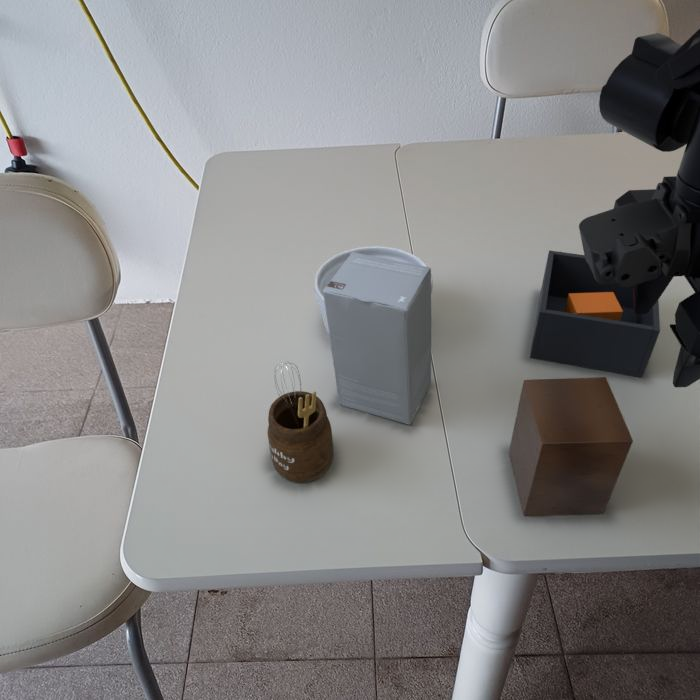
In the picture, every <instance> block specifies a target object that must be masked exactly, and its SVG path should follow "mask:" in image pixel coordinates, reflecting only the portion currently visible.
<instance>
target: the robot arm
mask: <svg viewBox="0 0 700 700" xmlns="http://www.w3.org/2000/svg"><path fill="white" fill-rule="evenodd" d="M598 101H599V102H598V108H599V113H600V115H601V117H602V119H603V120H604V121H605V122H606V123H607V124H609V125H611V126H613V127H614V128H617V129H619V130H621V131H622V132H624V133H626V134H628V135H629V136H632V137H634V138H635V139H638V140H639V141H641V142H643V143H645V144H647V145H648V146H650V147H652V148H654V149H656V150H658V151H661V152H663V153H665V152H667V153H668V152H669V153H671V152H674V151H677V150H679V149H681V148H683V147H685V148H684V151H683V155H682V158H681V161H680V164H679V167H678V170H677V173H676V175H675V176H673V175H672V176H671V175H670V176H663V177H662V181H661V182H658V183H657V185H656V188H654V189H651V188H650V189H649V188H648V189H629V190H627V191H626V192H625V193H623V194H622V195H621V196H619V197H618V198H617V199H615V201H614V205H613V208H612V209H608V210H605V211H602V212H599V213H597V214H593V215H590V216H588V217H585V218H584V219H582V220H581V221H580V222H579V223H578V230H579V234H580V239H581V245H582V250H583V255H585V259H586V262H588V264H589V266H590V269H591V271H592V273H593V275H594V278H595V280H596V281H597V282H598V283H599V284H601V285H612V284H616V283H618V285H619V286H622V287H630V286H633V292H634V312H635V313H636V314H637V315H639V314H647V313H648V312H649V311H650V310H651V309H652V307H653V306H654V305H655V304H656V302H657V301H658V302H659V300H660V298H661V296H662V295H663V294H664V292H665V290H666V289H667V288H668V286H669V285H670V284H671V282H672V280H673V278H675V277H683V276H684V278H685V280H686V281H687V283H688V284H689V285H690V287H691V289H692V290H693V293H692V294H691V295H689V296H687V297H686V298H684V299H683V300H681V301H680V302H679V303H678V305H677V308H676V310H675V313H674V321H675V322H674V324H673V323H672V324H669V328H670V329H671V332H672V333H673V335H674V336H675V339H676V340H677V341H678V343H679V345H680V348H679V352H678V355H677V360H676V363H675V367H674V371H673V377H672V385H673V387H674V388H687V387H690V386H691V385H693V384H694V383H696V382H697V381H699V380H700V28H698V29H697V30H696V32H694V33H693V34H692V35H691V36H690V37H689V38H688V39H687V40H686V41H685V42H684V43H683V44H680V43H678V42H676V41H675V40H673V39H672V38H671V37H669V36H667V35H665V34H662V33H659V32H656V33H651V34H646V35H641V36H637V37H636V38H635V39H634V42H633V46H632V50H631V53H630V54H629V55H627V56H626V57H625V58H624V59H623V60H621V61H620V62H619V63H618V65H616V67H615V68H614V69H613V71H612V72H611V74H610V75H609V76H608V79H607V81H606V83H605V84H604V85H603V86H602V87H601V91H600V94H599V100H598Z"/></svg>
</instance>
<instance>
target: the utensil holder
mask: <svg viewBox="0 0 700 700" xmlns="http://www.w3.org/2000/svg"><path fill="white" fill-rule="evenodd" d="M292 365H294V367H296V369H297V370H296V369H294V371H295V372H296V374H297V377H298V381H299V386H300V388H299V390H297V391H296V390H295V389H296V384H295V383H296V382H295V381H293V380H292V378H293V379H295V377H294V375H292V376H291V374H290V371H289V369H288V367H287V366H289V367H290V369H291V373H292V374H294V372H293V366H292ZM284 366H285V368H286V369H287V372H288V375H289V378H290V381H291V387H293V388H292V390H293V391H288V388H287V383H286V381H285V376H284V375H283V374H284V371H283V368H284ZM279 368H280V369H281V370H280V375H282V377H283V380H282V378H280V382H281V387H282V392H283V393H282V392H281V390H280V387H279V384H278V380H276V379H277V376H276V373H277V370H279ZM274 370H275V371H274V377H273V379H274V380H275V381H274V384H275V388H276V392H277V395H278V397H277V398H276V399H275V400H274V401H273V402H272V404H271V405H270V407H269V410H268V417H267V419H268V421H267V422H268V426H267V441H268V448H269V453H270V458H271V461H272V465H273V467H274V469H275V471H276V472H277V473H278V475H280V476H281V477H282V478H284V479H285V480H286V481H290V482H294V483H309V482H312V481H315V480H317V479H319V478H320V477H322V476H324V475H325V474H326V473H327V472H328V470H329V469H330V468H331V465H332V464H333V459H334V441H333V431H332V426H331V422H330V419H329V417H328V415H327V414H328V413H327V409H326V407H325V404H324V403H323V401H322V400H321V398H320V397H318V396H317V392H316V391H313V392H312V393H311V392H308V391H303V390H302V380H301V379H302V378H300V377H301V375H300V370H299V368H298V366H297V365H296V364H295V363H293V362H291V363H289V361H285V362H283V361H282V362H280V363H279V364H277V365H276V366H275V368H274ZM283 382H284V385H285V389H286V393H285V391H284V386H283Z"/></svg>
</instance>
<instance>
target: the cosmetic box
mask: <svg viewBox="0 0 700 700" xmlns="http://www.w3.org/2000/svg"><path fill="white" fill-rule="evenodd" d="M431 274H432V268H431V267H429V266H428V267H424V266H419V265H414V264H409V263H404V262H399V261H394V260H389V259H384V258H379V257H374V256H370V255H365V254H360V253H355V252H352V253H351V254H350V256H349V257H348V258H347V260H346V261H345V262H344V264H343V265H342V266H341V268H340V269H339V270H338V272H337V273H336V274H335V275H334V277H333V278H332V279H331V281H330V282H329V283H328V285H327V286H326V287H325V289H324V290H323V295H324V301H325V307H326V314H327V321H328V327H329V333H328V335H329V340H330V350H331V355H332V363H333V369H334V376H335V384H336V391H337V397H338V404H339V405H340V406H343V407H346V408H351V409H353V410H357V411H360V412H364V413H367V414H371V415H374V416H378V417H381V418H385V419H387V420H392V421H395V422H399V423H402V424H405V425H411V424H412V423H413V420H414V418H415V416H416V414H417V412H418V410H419V409H420V406H421V404H422V402H423V400H424V398H425V397H426V394H427V392H428V390H429V387H430V386H431V384H432V294H431Z"/></svg>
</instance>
